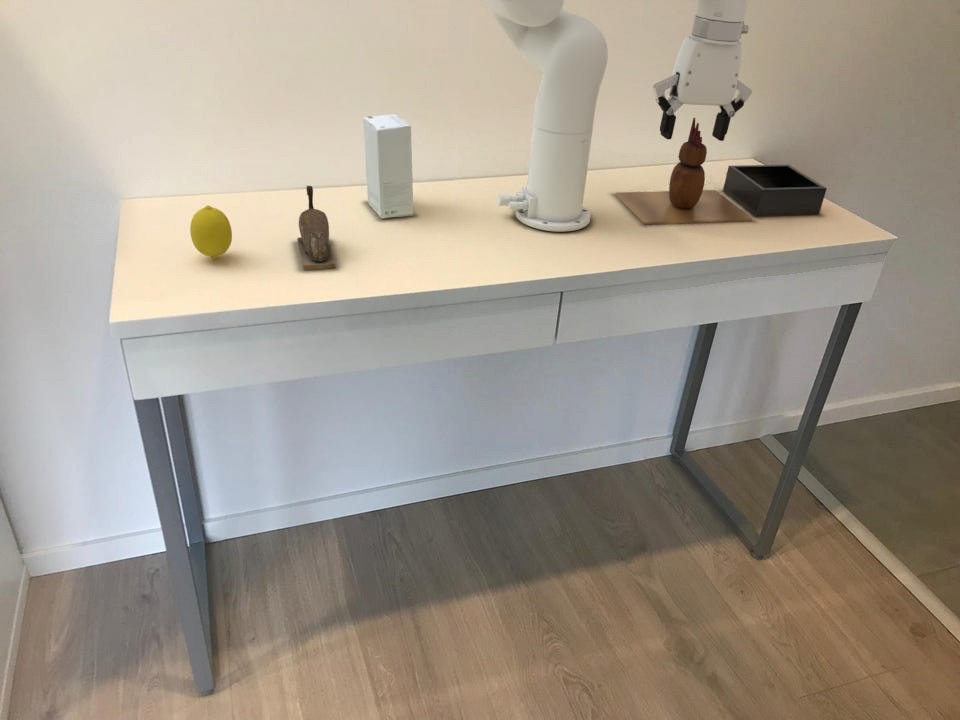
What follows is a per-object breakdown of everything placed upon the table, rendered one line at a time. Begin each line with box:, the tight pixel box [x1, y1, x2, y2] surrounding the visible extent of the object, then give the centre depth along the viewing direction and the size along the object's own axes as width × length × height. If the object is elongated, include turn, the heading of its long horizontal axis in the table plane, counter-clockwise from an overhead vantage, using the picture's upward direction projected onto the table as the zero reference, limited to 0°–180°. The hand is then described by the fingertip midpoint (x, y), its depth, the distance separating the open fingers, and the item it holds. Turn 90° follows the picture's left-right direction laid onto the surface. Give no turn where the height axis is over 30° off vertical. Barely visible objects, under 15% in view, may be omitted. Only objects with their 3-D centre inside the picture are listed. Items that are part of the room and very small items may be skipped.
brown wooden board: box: [615, 189, 753, 225], centre depth 142 cm, size 20×14×1 cm
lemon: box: [189, 205, 233, 260], centre depth 112 cm, size 6×6×8 cm
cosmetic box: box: [362, 113, 414, 219], centre depth 130 cm, size 8×6×15 cm
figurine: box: [296, 185, 336, 271], centre depth 116 cm, size 14×4×9 cm, turn 16°
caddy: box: [722, 164, 827, 218], centre depth 145 cm, size 13×13×5 cm
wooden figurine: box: [668, 117, 708, 209], centre depth 138 cm, size 7×6×15 cm
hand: (691, 137), depth 135 cm, fingers open, 9 cm apart
